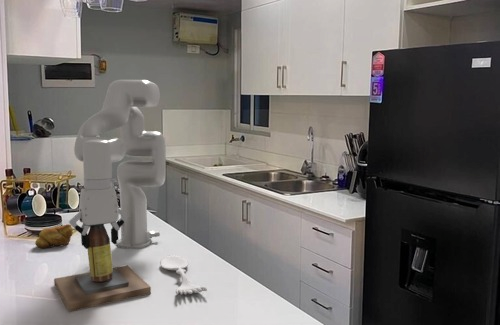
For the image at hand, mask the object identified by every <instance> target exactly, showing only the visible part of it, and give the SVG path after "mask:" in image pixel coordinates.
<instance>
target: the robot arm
mask: <svg viewBox="0 0 500 325" xmlns="http://www.w3.org/2000/svg"><path fill="white" fill-rule="evenodd" d="M160 92H161V91H160V89H159V86H158V84H156V83H154V82H152V81H149V80H147V79H117V80H114V81H111V83H110V84H109V85H108V88H107V92H106V94H105V97H104V98H105V99H104V101H103V104H102V108H101V110H100V111H98V112H96V113H95V114H93V115H91V117H89V118H87V120H85V121H84V122H83V123H82V124H81V125H80V127H79V129H78V133H77V136H76V139H75V142H74V146H73V147H74V148H73V151H74V156H75V158H76V159H77V160H78V161H80V162H82V163H83V165H82V166H83V168H82V169H83V187H84V188H81V190H80V194H79V195H80V196H79V205H78V207H79V209H78V212H77V213H76V215H74V216H73V217H72V218H71V219H70V220H68V223H69V225H71V227H72V228H74V230H76V231H77V232H78V233H80V237H81V240H80V241H81V246H83V247H84V249H85V250H88V248H89V240H88V232H89V230H90V226H92V225H100V224H104V225H107V224H110V225H111V227H112V228H110V243H112V244H113V245H117V247H119V248H121V249H126V250H129V249H131V250H133V249H135V250H136V249H142V248H146V247H149V246H150V245H151V244H152V238H157V237H160V236H161V234H160V231H159V230H157V231H154V230H152V231H151V230H150V231H149V230H148V215H147V214H148V212H147V211H148V209H147V208H148V206H147V203H148V202H147V196H146V194H145V192H144V191H143V190H142V188H143V187H146V188H147V187H151V188H153V187H155V188H157V187H161V186H163V185H164V183H165V181H166V173H167V171H166V169H167V168H166V167H167V166H166V140H165V139H166V138H165V136H164V134H162V132H160V131H155V130H154V131H151V130H150V131H149V130H148V131H146V129H145V120H146V119H145V116H144V114H143V113H142V112H141V109H139V108H155V107H157V105H158V104H159V102H160V99H161V98H160V97H161V94H160ZM119 128H120V137H117V136H99V135H101V134H104V133H107V132H111V131H113V130H116V129H119ZM125 157H130V158H131V157H133V158H150V159H152V160H125V161H123V162H121V163H119V164H118V166H117V168H116V175H117V176H116V177H117V178H115V177H113V166H112V165H113V163H115V164H116V163H118V162H120V161H122V160H123V159H124V158H125ZM117 183H118V188H119V202H120V203H119V204H120V207H119V204H118V197H117V192H116V188H115V187H114V184H117ZM141 187H142V188H141ZM119 216H120V218H119ZM78 221H79V222H80V223H82V224H81V226H79V225H78V224H77V222H78ZM119 231H120V239H119Z"/></svg>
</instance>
